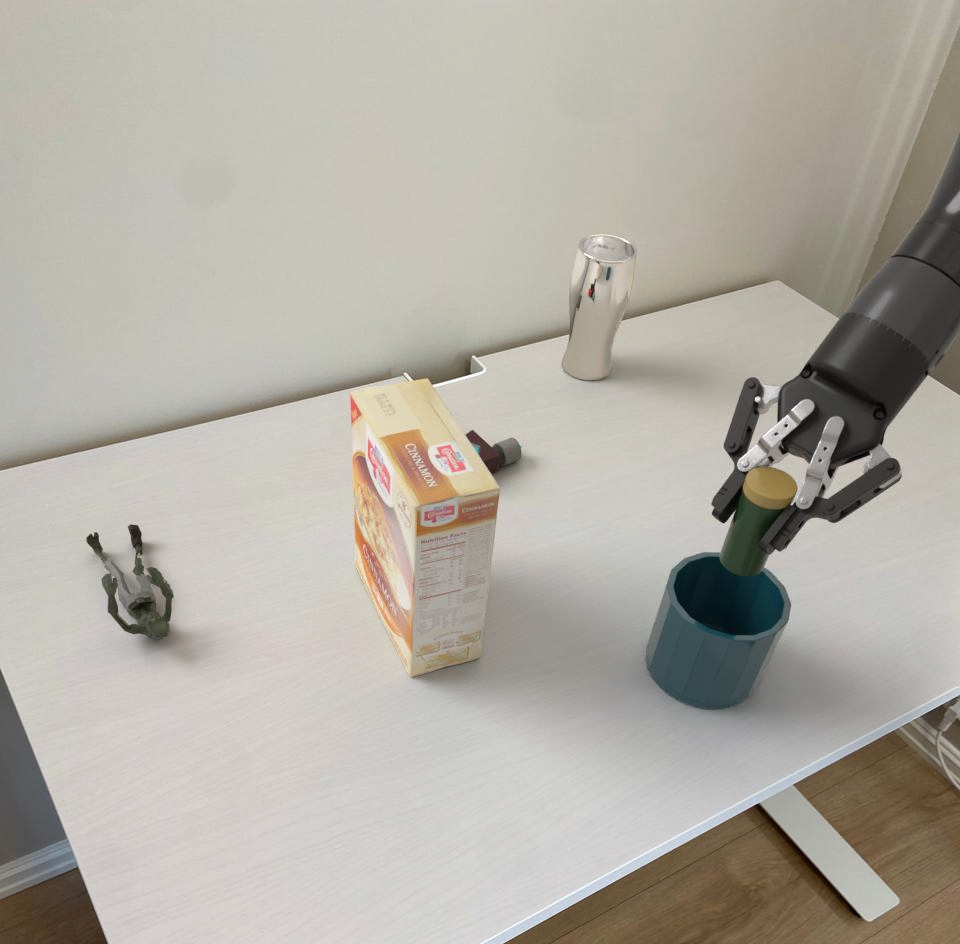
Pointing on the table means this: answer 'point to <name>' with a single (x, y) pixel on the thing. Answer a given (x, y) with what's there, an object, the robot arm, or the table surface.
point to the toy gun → (495, 451)
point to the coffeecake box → (422, 523)
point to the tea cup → (715, 632)
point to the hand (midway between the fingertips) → (741, 533)
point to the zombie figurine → (137, 603)
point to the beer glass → (597, 303)
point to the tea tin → (755, 519)
